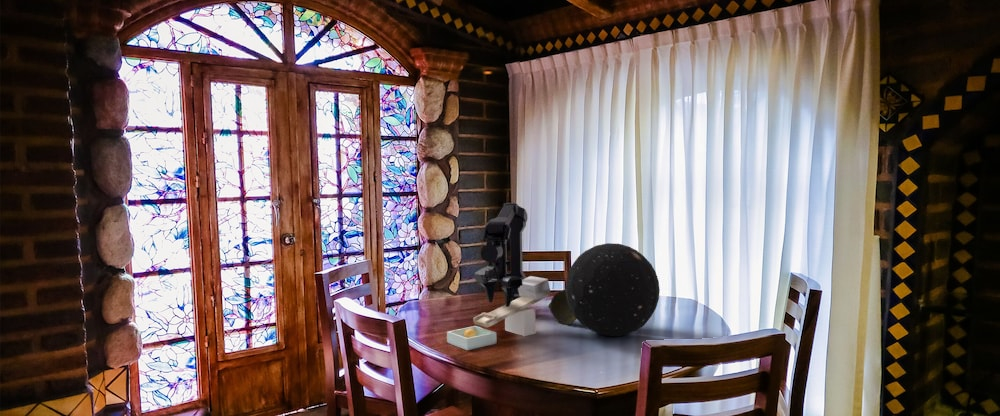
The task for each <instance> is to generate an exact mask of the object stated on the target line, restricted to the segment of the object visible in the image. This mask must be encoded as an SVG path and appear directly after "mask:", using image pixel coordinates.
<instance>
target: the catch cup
mask: <svg viewBox="0 0 1000 416" xmlns="http://www.w3.org/2000/svg"><path fill="white" fill-rule="evenodd" d="M467 329H473V330H475V331H476V334H477V336H475V337H470V338H466V337H464V333H465V331H466V330H467ZM497 339H498V337H497V332H496V331H493V330H490V329H487V328H485V327H484V328H483V327H482V326H479V325H473V326H472V325H471V326H468V327H463V328H458V329H453V330H450V331H449V330H448V331H446V343H447V344H450V345H451V346H455V347H458V348H460V349H463V350H465V351H471V350H475V349H479V348H483V347H486V346H487V347H488V346H492V345H495V344H496V345H497Z"/></svg>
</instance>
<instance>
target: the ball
mask: <svg viewBox="0 0 1000 416" xmlns="http://www.w3.org/2000/svg"><path fill="white" fill-rule="evenodd" d="M475 336H477V334H476V331H475V330H473V329H467V330H466V331H465V333H464V337H466V338H470V337H475Z"/></svg>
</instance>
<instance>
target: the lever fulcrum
mask: <svg viewBox="0 0 1000 416" xmlns="http://www.w3.org/2000/svg"><path fill="white" fill-rule="evenodd" d="M536 329H537V328H536V309H535V308H530V307H527V308H525V309H523V310H521V311H519V312H517V313H515V314H513V315H511V316H509V317H507V318H505V319H504V330H505V331H506V332H509V333H513V334H516V335H520V336H523V337H527V336H531V335H535V334H536V333H537V332H536Z"/></svg>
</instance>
